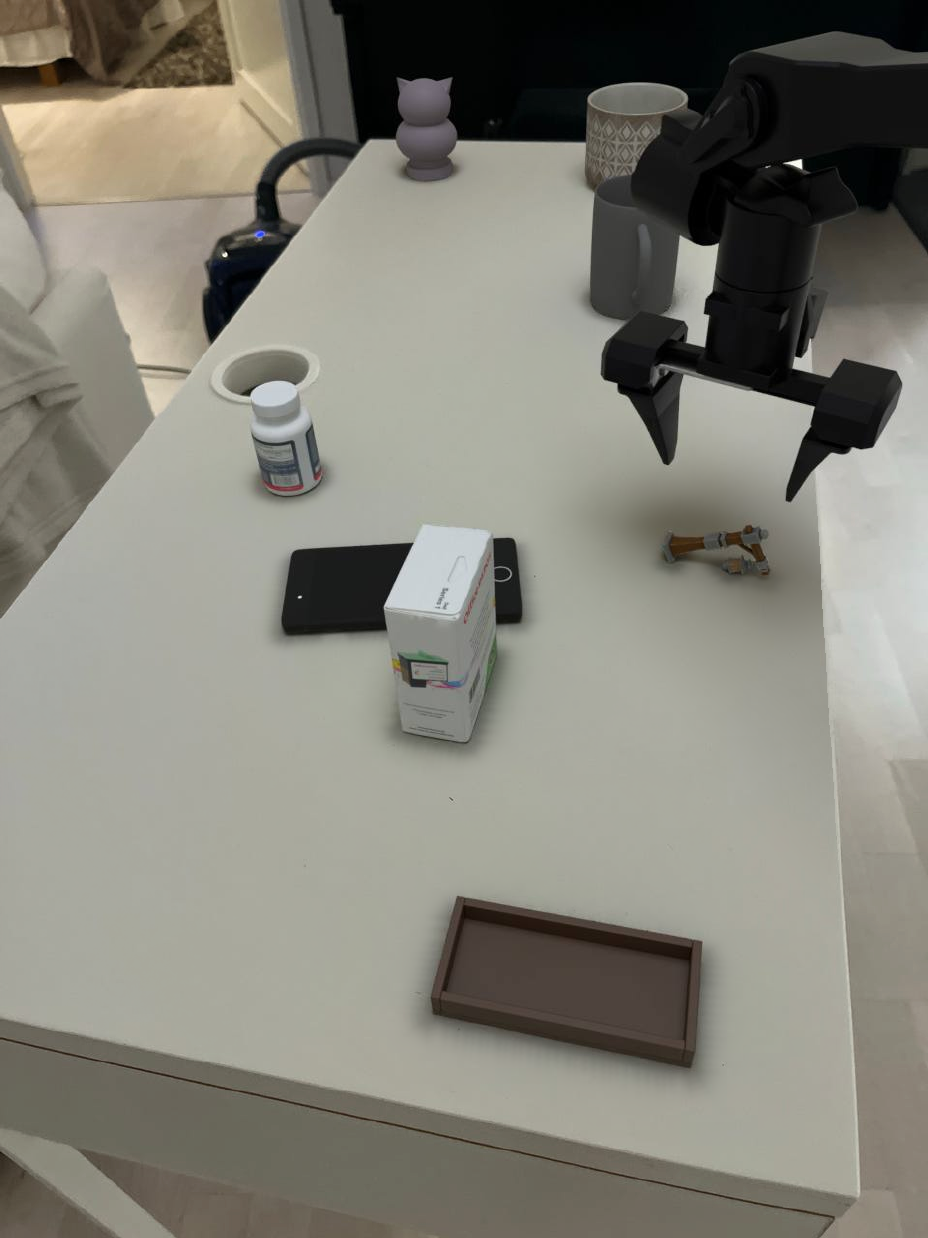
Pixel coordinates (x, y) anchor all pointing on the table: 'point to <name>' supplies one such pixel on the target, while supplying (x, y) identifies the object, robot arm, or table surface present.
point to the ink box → (443, 630)
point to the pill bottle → (284, 439)
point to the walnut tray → (571, 980)
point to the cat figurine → (426, 128)
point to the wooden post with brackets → (718, 540)
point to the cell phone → (371, 585)
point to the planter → (625, 125)
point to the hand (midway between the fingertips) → (727, 479)
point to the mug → (629, 255)
